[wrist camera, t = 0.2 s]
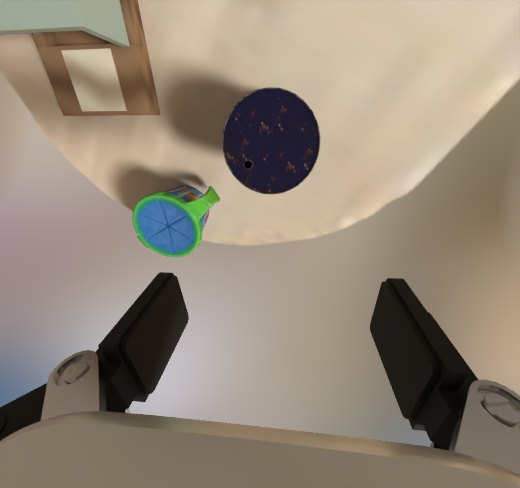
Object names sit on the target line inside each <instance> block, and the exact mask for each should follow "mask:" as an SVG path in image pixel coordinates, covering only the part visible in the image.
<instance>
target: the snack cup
mask: <svg viewBox="0 0 520 488" xmlns="http://www.w3.org/2000/svg"><path fill="white" fill-rule="evenodd" d="M219 201H220V198H219V196H218V195H217V193H216V192H215V190H214V189H213V188H212V187H211V186H210V187H209V189H208V191H207V192H206V194H205V195H203V194H202V193H200V192H199V191H198V190H196V189H194V188H190V187H180V188H176V189H173V190H169V191H166V192H156V193H153V194H150V195H148V196H146V197H144V198H143V199H141V200H140V201H139V202H138V203H137V205H136V206H135V208H134V210H133V224H134V228H135V230H136V232H137V234H138V236H137V237H138V239H139V240H140V241H141V242H142V243H143V244H144V245H145V246H146V247H148V248H151V249H152V250H154V251H155V252H157V253H159V254H162V255H165V256H169V257H181V256H185V255H188V254H189V253H190V252H192V251H193V250H194V249H195V248H196V247H197V246H199V244H200V242H201V239H202V238H201V237H202V231H203V228H204V226H205V223H206V221H207V218H208V215H209V208H211V206H212V205H213V204H215V203H216V202H219Z"/></svg>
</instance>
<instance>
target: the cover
mask: <svg viewBox="0 0 520 488" xmlns="http://www.w3.org/2000/svg"><path fill="white" fill-rule="evenodd" d="M76 30H82V31H85V32H87V33H90V34H92V35H94V36H97V37H99V38H102V39H104V40H106V41H109V42H111V43H114V44H116V45H118V46H121V47H130V45H129V41H128V36H127V32H126V28H125V23H124V19H123V14H122V10H121V6H120V1H119V0H0V35H1V34H20V33H38V32H57V31H76Z"/></svg>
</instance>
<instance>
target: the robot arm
mask: <svg viewBox="0 0 520 488" xmlns="http://www.w3.org/2000/svg"><path fill="white" fill-rule="evenodd" d="M187 323H188V312H187V309H186V306H185V302H184V299H183V295H182V292H181V289H180V285H179V282H178V279H177V277H176V276H174V274H173V273H162V272H161V273H159V274H158V275H157V276H156V277H155V278H154V279H153V281H152V282H151V283H150V284H149V285H148V287H147V288H146V289H145V290H144V291H143V293H142V294H141V295H140V296H139V297H138V299H137V300H136V301H135V302H134V304H133V305H132V306H131V307H130V308H129V309H128V311H127V312H126V313H125V314H124V316H123V317H122V318H121V319H120V320H119V321H118V323H117V324H116V325H115V326H114V327H113V329H112V330H111V331H110V332H109V334H108V335H107V336H106V337H105V338H104V340H103V341H102V342H101V343H100V344H99V346H98V347H99V348H98V350H97V351H96V352H94V351H90V350H87V351H81V352H78V353H75V354H73V355H72V356H70V357H68V358H66V359H65V360H64V361H62V362H61V363H60V364H59V365H58V366H57V367H56V368H55V369H54V370H53V372H52V373H51V375H50V376H49V379H48V382H47V383H46V384H44V385H42V386H41V387H39V388H37V389H35V390H33V391H31V392H29V393H27V394H25V395H23V396H21V397H19V398H17V399H16V400H14V401H12V402H10V403H8V404H6V405H4V406H2V407H0V488H520V396H519V395H518V394H517V393H515V392H514V391H512V390H510V389H509V388H507V387H505V386H503V385H501V384H499V383H496V382H493V381H489V380H478V379H477V377H476V376H475V375H474V373H473V372H472V370H471V369H470V368H469V366H468V365H467V364H466V362H465V361H464V359H463V358H462V357H461V355H460V354H459V353H458V351H457V350H456V348H455V347H454V346H453V344H452V343H451V341H450V340H449V339H448V337H447V336H446V334H445V333H444V332H443V330H442V329H441V328H440V326H439V325H438V323H437V322H436V321H435V319H434V318H433V317H432V316H431V314H430V313H428V312H427V311H426V309H425V308H424V307H423V305H422V304H421V302H420V301H419V300H418V298H417V297H416V296H415V294H414V293H413V291H412V290H411V289H410V287H409V286H408V284H407V283H406V281H404V279H394V278H388V279H387V280H386V282H382V284H381V287H380V291H379V294H378V298H377V302H376V305H375V309H374V313H373V316H372V320H371V324H370V331H371V334H372V337H373V339H374V342H375V345H376V347H377V350H378V352H379V355H380V357H381V360H382V363H383V366H384V368H385V371H386V373H387V376H388V379H389V381H390V384H391V386H392V389H393V392H394V394H395V397H396V399H397V402H398V405H399V407H400V410H401V412H402V415H403V416H404V417H405V418H406V419H409V421H410V424H411V426H412V429H413V430H424V431H426V432H427V434H428V436H429V439H430V440H431V441H432V443H431V446H430V447H426V446H418V445H411V444H404V443H396V442H388V441H381V440H373V439H365V438H356V437H346V436H339V435H329V434H321V433H312V432H304V431H295V430H286V429H277V428H268V427H258V426H249V425H240V424H231V423H222V422H212V421H203V420H193V419H183V418H174V417H164V416H154V415H143V414H130V412H129V406H130V405H131V403H132V401H139V402H145V401H146V399H147V397H148V395H149V394H151V393H152V392H153V391H154V390H155V388H156V386H157V384H158V382H159V380H160V378H161V375H162V374H163V371H164V369H165V368H166V365H167V364H168V361H169V359H170V357H171V355H172V353H173V351H174V349H175V347H176V345H177V343H178V341H179V339H180V337H181V335H182V332H183V331H184V329H185V327H186V324H187Z"/></svg>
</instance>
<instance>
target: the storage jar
mask: <svg viewBox="0 0 520 488" xmlns="http://www.w3.org/2000/svg"><path fill="white" fill-rule="evenodd" d="M222 142H223V152H224V157H225V160H226V163H227V165H228V167H229V169H230V171H231V172H232V174H233V175H234V177H235V178H236V179H237V180H238V181H239V182H240V183H241V184H243V185H244V186H245V187H247V188H249V189H250V190H253V191H255V192H258V193H262V194H279V193H283V192H286V191H289V190H291V189H293V188H294V187H296V186H298V185H299V184H300V183H301V182H303V181H304V179H305V178H306V177H307V176H308V175H309V173H310V172H311V171H312V169H313V167H314V165H315V163H316V160H317V157H318V154H319V148H320V132H319V127H318V123H317V120H316V118H315V116H314V114H313V112H312V110H311V109H310V107H309V106H308V104H307V103H306V102H305V101H304V100H303V99H302V98H300V97H299V96H297V95H296V94H295V93H292V92H290V91H288V90H285V89H281V88H270V87H269V88H263V89H259V90H256V91H253V92H251V93H250V94H248V95H246V96H245V97H243V98H242V99H241V100H240V101H239V102H238V103H237V104H236V105H235V106H234V108H233V109H232V111H231V112H230V114H229V116H228V118H227V120H226V123H225V127H224V130H223V139H222Z"/></svg>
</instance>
